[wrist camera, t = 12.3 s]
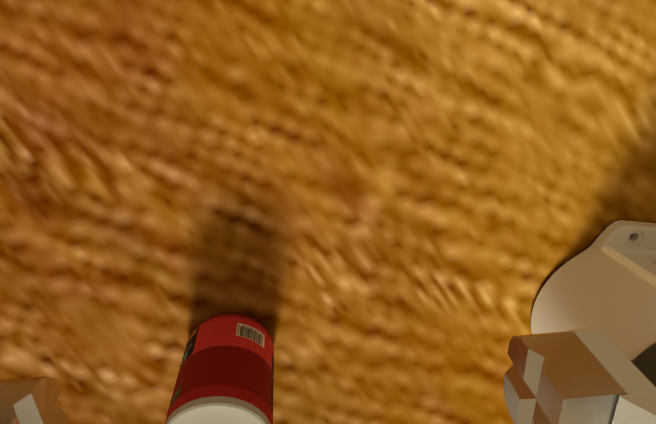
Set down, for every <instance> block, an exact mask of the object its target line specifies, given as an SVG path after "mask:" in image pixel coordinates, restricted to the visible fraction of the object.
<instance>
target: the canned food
mask: <svg viewBox="0 0 656 424" xmlns="http://www.w3.org/2000/svg"><path fill="white" fill-rule="evenodd" d="M273 370H274V346H273V342H272V339H271V337H270V335H269V333H268V331H267V330H266V329H265V328H264V326H263V325H262V324H260V323H259V322H258V321H256V320H254V319H252V318H250V317H247V316H244V315H240V314H221V315H216V316H213V317H211V318H209V319H207V320H205V321H203V322H202V323H201V324H200V325H199V326H198V327H197V328H196V329H195V330H194V331H193V333H192V334H191V335H190V337H189V339H188V342H187V345H186V349H185V352H184V356H183V359H182V363H181V367H180V370H179V374H178V377H177V381H176V384H175V388H174V392H173V395H172V399H171V402H170V406H169V409H168V413H167V418H166V421H165V424H273Z"/></svg>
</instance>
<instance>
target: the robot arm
mask: <svg viewBox="0 0 656 424" xmlns="http://www.w3.org/2000/svg"><path fill="white" fill-rule="evenodd" d="M632 234H633V235H632ZM631 235H632V236H631ZM630 236H631V237H630ZM531 330H532V334H530V335H520V336H513V337H512V339H511V341H510V343H509V349H508V355H509V357H510V358H511V360H512V362H513V363H514V364H513V365H512V366H511V367H510V368H509V369H508V371H507V372H506V373H505V379H504V393H505V400H506V405H507V407H508V410H509V413H510V416H511V418H512V420H513V421H514V423H515V424H656V223H647V222H637V221H627V220H619V221H615V222H613V223H612V224H610V225H609V226H608V227H607V228H606V229H605V230H604V231H603V232H602V233H601V234H600V235H599V236H598V238H597V239H596V240H595V241H594V243H593V244H592V245H591V246H590V247H589V248H587V249H586V250H585V251H583V252H582V253H580V254H578V255H577V256H575V257H574V258H572V259H571V260H569V261H568V262H566V263H565V264H564V265H563V266H561V267H560V268H559V269H558V270H557V271H556V272H555V273H554V274H553V275H552V276H551V277H550V278H549V280H548V281H547V282H546V283H545V285H544V286H543V288H542V289H541V291H540V293H539V295H538V296H537V299H536V301H535V304H534V306H533V310H532V315H531ZM59 395H60V392H59V390H58V388H57V385H56V383H55V380H54V379H52V378H49V377H30V378H15V379H0V424H70V421H69V418H68V415H67V413H66V412H65V411H63V410H62V409H61V408H59V407H58V406H56V405H55V402H56V400H57V398H58V396H59Z"/></svg>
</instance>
